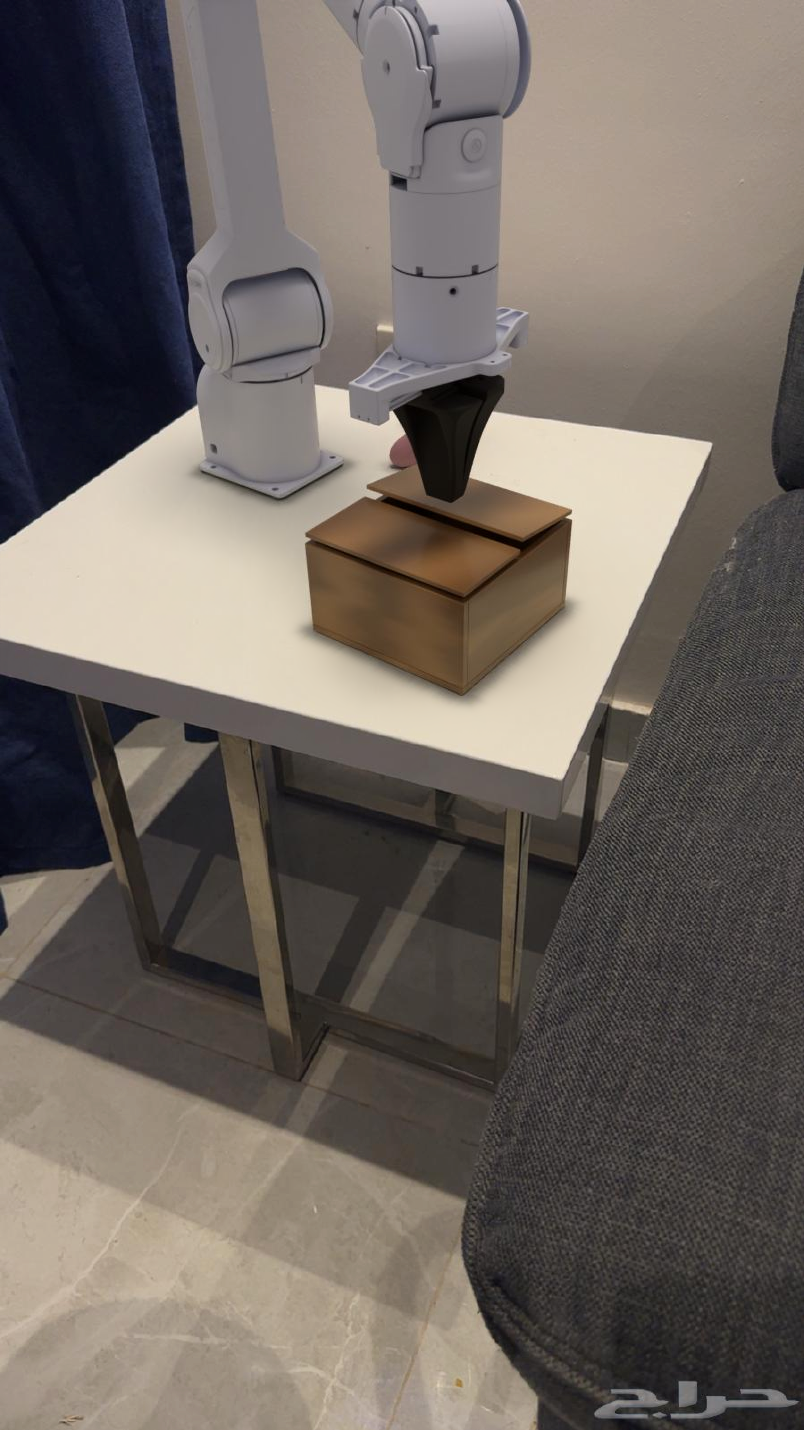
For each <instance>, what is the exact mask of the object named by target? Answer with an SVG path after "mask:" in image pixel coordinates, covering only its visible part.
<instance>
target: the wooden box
mask: <svg viewBox="0 0 804 1430" xmlns="http://www.w3.org/2000/svg"><path fill="white" fill-rule="evenodd" d="M572 528H573V519H572V518H568V517H565V518H563V519H562V520H560V521H558V522H556V523H555V524H553V525H551V526H549V527H548V528H546V529H544V530H542V531H541V532H539V533H537V534H535V535H534V536H532V537H530V538H528V539H527V540H525V541H523V542H521V541H518V540H515V539H512V538H509V537H507V536H504V535H501V534H498V533H495V532H492V531H489V530H486V529H483V528H480V527H477V526H474V525H471V524H468V523H465V522H462V521H459V520H456V519H454V518H451V517H448V516H445V515H442V514H439V513H436V512H433V511H430V510H427V509H424V508H421V507H418V506H415V505H412V504H409V503H406V502H403V501H401V500H398V499H395V498H392V497H389V496H386V495H383V494H381V495H380V496H378V497H377V498H376V499H374V498H371V497H368V496H366V495H365V496H363V497H362V498H359V499H358V500H356V501H355V502H353V503H352V504H350V505H348V506H346V507H345V508H342V509H341V510H339V512H337V513H335V514H333V515H332V516H330V517H329V518H327V519H324V521H322V522H320V523H319V524H317V525H316V526H314V527H312V528H310V529H309V530H307V531H306V532H305V533H304V536H305V538H307V539H310V540H308V541H306V542H305V543H304V548H305V549H304V550H305V560H306V568H307V581H308V589H309V590H308V592H309V600H310V601H309V602H310V610H311V621H312V630H313V631H315V632H317V633H320V634H322V635H325V636H326V637H329V638H331V639H333V640H336V641H338V642H340V643H343V644H344V645H347V646H350V647H352V648H354V649H356V650H359V651H361V652H363V653H365V654H367V655H370V656H372V657H374V658H376V659H378V660H381V661H383V662H386V663H388V664H390V665H392V666H395V667H398V668H400V669H401V670H404V671H407V672H409V673H411V674H412V675H415V676H417V677H420V678H422V679H425V680H426V681H429V682H432V683H433V684H436V685H437V686H440V687H443V688H445V689H447V690H450V691H452V692H454V693H456V694H459V695H461V696H463V695H464V694H466V692H468V691H469V690H470V689H472V688H473V686H475V685H476V684H477V683H479V681H480V680H482V679H483V678H484V677H485V676H486V675H487V674H488V673H490V672H491V671H492V670H494V668H496V667H497V666H498V665H499V664H500V663H501V662H502V661H504V659H506V657H508V656H509V655H510V654H511V653H513V652H514V651H515V650H516V649H518V648H519V646H520V645H522V644H523V643H524V642H526V640H528V639H529V638H530V637H531V636H532V635H533V634H535V633H536V632H537V631H538V630H539V629H540V628H541V627H543V626H544V625H546V623H547V622H548V621H549V620H551V618H553V617H554V616H555V615H556V614H558V613H559V611H561V610H562V609H563V608H564V607H566V598H567V597H566V596H567V588H568V587H567V586H568V575H569V565H570V564H569V563H570V553H571V552H570V551H571V539H572Z"/></svg>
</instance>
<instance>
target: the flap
mask: <svg viewBox="0 0 804 1430" xmlns="http://www.w3.org/2000/svg"><path fill="white" fill-rule="evenodd" d="M366 490H368V491H371V492H374V493H377V494H381V495H386V496H389V497H392V498H395V499H398V500H401V501H403V502H406V503H409V504H412V505H415V506H418V507H421V508H424V509H427V510H430V511H433V512H436V513H439V514H442V515H445V516H448V517H451V518H454V519H456V520H459V521H462V522H465V523H468V524H471V525H474V526H477V527H480V528H483V529H486V530H489V531H492V532H495V533H498V534H501V535H504V536H507V537H509V538H512V539H515V540H518V541H521V542H523V541H525V540H527V539H528V538H530V537H532V536H534V535H535V534H537V533H539V532H541V531H542V530H544V529H546V528H548V527H549V526H551V525H553V524H555V523H556V522H558V521H560V520H562V519H563V518H568V517H569V516H570V515H572V513H573V509H572V508H569V507H565V506H562V505H558V504H555V503H553V502H550V501H545V500H542V499H539V498H536V497H533V496H530V495H526V494H523V493H520V492H517V491H514V490H511V489H507V488H504V487H501V486H498V485H496V484H491V483H489V482H485V481H482V480H478V479H476V478H472V477H470V476H469V480H468V483H467V487H466V490H465V493H464V495H463V496H462V497H460V498H459V499H457V500H456V501H454V502H453V503H448V502H445V501H442V500H439V499H436V498H433V497H430V496H427V495H426V493H425V489H424V486H423V482H422V479H421V475H420V472H419V468H418V465H417V464H415V465H413V466H407V467H406V468H403V469H401V470H398V471H396V472H394V473H392V474H389V475H387V476H385V477H382V478H380V479H377V480H375V481H372V482H371V483H368V484H366Z"/></svg>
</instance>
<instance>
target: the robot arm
mask: <svg viewBox="0 0 804 1430" xmlns="http://www.w3.org/2000/svg"><path fill="white" fill-rule="evenodd" d="M322 2H323V3H324V4H325V6H326V7H327V9H328V10H329V12H330V13H331V14H332V15H333V17H334V18H335V20H336V21H337V23H338V24H339V25H340V26H341V28H342V29H343V31H344V32H345V33H346V35H347V36H348V38H349V39H350V40H351V42H352V44H354V46H355V47H356V49H357V50H358V51H359V53H360V54H361V55H362V57H360V69H361V78H362V79H361V80H362V84H363V89H364V94H365V97H366V101H367V104H368V108H369V110H370V113H371V116H372V119H373V124H374V129H375V139H376V141H375V142H376V155H377V156H378V158H379V164H380V167H381V168H382V169H384V170H386V171H388V196H389V197H388V201H389V203H388V204H389V231H390V232H389V234H390V235H389V236H390V260H391V261H390V263H391V265H390V266H391V269H390V270H391V297H392V298H391V299H392V303H391V304H392V331H393V335H392V336H393V341H392V342H391V343H390V344H389V345H388V346H387V347H386V348H385V349H384V351H383V352H382V353H381V354H380V355H379V356H378V357H377V358H376V360H375V361H374V362H372V364H371V365H370V366H369V367H368V368H367V369H366V371H365V372H363V373H362V374H361V375H360V376H357V378H355V379H353V380H351V381H349V382H348V397H349V398H348V399H349V417H350V418H351V419H355V420H357V421H360V422H363V423H364V422H365V423H367V424H371V425H373V426H377V427H380V426H382V425H384V424H385V423H387V422H388V421H390V413H391V412H393V414H394V415H395V417H396V418H397V421H398V423H399V424H400V426H401V427H402V429H403V431H404V433H405V434H406V435H407V437H408V440H409V442H410V444H411V447H412V450H413V452H414V455H415V458H416V461H417V465H418V468H419V472H420V475H421V479H422V482H423V486H424V489H425V493H426V495H427V496H430V497H433V498H436V499H439V500H442V501H445V502H448V503H453V502H454V501H456V500H457V499H459V498H460V497H462V496H463V495H464V493H465V490H466V487H467V483H468V480H469V477H470V476H471V472H472V468H473V465H474V461H475V457H476V454H477V450H478V447H479V444H480V441H481V439H482V435H483V433H484V431H485V428H486V427H487V424H488V422H489V419H490V417H491V416H492V414H493V412H494V410H495V408H496V407H497V405H498V403H499V402H500V400H501V399H502V397H503V396H504V394H505V385H506V384H505V382H506V381H505V378H504V377H503V376H502V375H501V374H502V373H504V372H505V371H507V370H509V369H510V368H511V367H512V366H513V365H512V364H513V361H512V360H513V355H512V354H511V353H510V352H507V351H506V350H507V349H508V348H512V349H521V348H523V347H525V346H527V345H528V343H529V325H530V313H529V311H524V310H520V309H516V308H511V307H505V306H500V307H498V296H499V295H498V294H499V269H500V268H499V265H500V264H499V262H500V240H501V239H500V238H501V237H500V236H501V232H500V231H501V207H502V206H501V204H502V175H503V144H504V143H503V142H504V120H506V119H508V118H510V117H511V116H512V115H514V114H515V113H516V111H517V110H518V109H519V108H520V106H521V104H522V103H523V100H524V98H525V95H526V93H527V89H528V86H529V83H530V77H531V71H532V55H533V54H532V53H533V52H532V40H531V39H532V38H531V31H530V26H529V22H528V19H527V16H526V12H525V10H524V8H523V6H522V4H521V2H520V0H322ZM179 4H180V11H181V16H182V22H183V29H184V35H185V41H186V47H187V53H188V59H189V65H190V71H191V77H192V83H193V84H192V85H193V89H194V94H195V96H194V97H195V102H196V108H197V113H198V115H197V116H198V120H199V126H200V131H201V132H200V133H201V139H202V145H203V151H204V158H205V163H206V168H207V174H208V181H209V182H208V183H209V188H210V195H211V199H212V207H213V211H214V217H215V218H214V219H215V223H216V229H215V231H214V233H213V234H212V235H211V237H210V238H209V239H208V240H207V242H206V243H204V245H203V246H202V247H201V248H200V249H199V251H197V253H196V254H195V255H194V256H193V257H192V258H191V260H190V261H189V263H188V264H187V266H186V269H187V273H186V281H187V287H188V288H187V290H188V307H187V309H188V311H187V312H188V314H187V315H188V322H189V327H190V332H191V335H192V338H193V342H194V344H195V347H196V350H197V352H198V354H199V356H200V358H201V359H202V360H203V362H204V364H203V366H202V368H201V370H200V373H199V375H198V379H197V383H196V392H195V393H196V403H197V408H198V409H197V410H198V415H199V422H200V428H201V434H202V441H203V445H204V446H203V447H204V453H205V459H206V460H204V461H202V462H200V463H199V469H200V471H203V472H205V473H208V474H210V475H214V476H216V477H219V478H221V479H225V480H227V481H230V482H233V483H235V484H238V485H240V486H244V487H246V488H249V489H251V490H254V491H257V492H260V493H263V494H266V495H269V496H271V497H274V498H277V499H283V498H285V497H288V496H289V495H290V494H293V493H294V492H295V491H298V490H300V489H301V488H304V486H307V485H308V484H310V483H312V482H314V481H315V480H317V479H319V478H321V477H322V476H324V475H326V474H327V473H329V472H331V471H333V470H334V469H337V468H339V467H340V466H341V465H343V464H344V458H343V457H342V456H339V455H336V454H333V453H331V452H330V453H329V452H326V451H324V450H321V446H320V432H319V422H318V421H319V419H318V409H317V397H316V386H315V385H316V384H315V373H314V365H317V364H320V363H321V362H322V361H321V360H322V359H321V350H323V349H325V348H327V347H328V345H329V342H330V340H331V338H332V334H333V331H334V323H335V315H334V307H333V302H332V298H331V293H330V290H329V289H328V286H327V284H326V281H325V276H324V273H323V267H322V261H321V257H320V252H319V251H318V250H317V249H316V248H315V247H314V246H313V245H312V244H311V243H309V242H308V241H307V240H305V238H302V237H301V236H299V235H297V234H296V233H294V232H293V231H291V230H290V229H288V228H287V226H286V219H285V211H284V206H283V204H284V203H283V197H282V188H281V182H280V181H281V180H280V173H279V167H278V158H277V157H278V156H277V149H276V143H275V136H274V126H273V120H272V113H271V112H272V111H271V105H270V96H269V88H268V81H267V73H266V65H265V58H264V49H263V43H262V35H261V27H260V18H259V12H258V3H257V0H179Z"/></svg>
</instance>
